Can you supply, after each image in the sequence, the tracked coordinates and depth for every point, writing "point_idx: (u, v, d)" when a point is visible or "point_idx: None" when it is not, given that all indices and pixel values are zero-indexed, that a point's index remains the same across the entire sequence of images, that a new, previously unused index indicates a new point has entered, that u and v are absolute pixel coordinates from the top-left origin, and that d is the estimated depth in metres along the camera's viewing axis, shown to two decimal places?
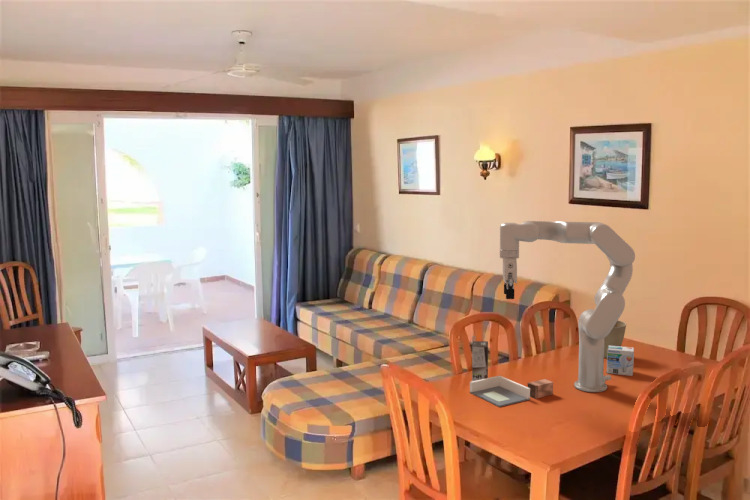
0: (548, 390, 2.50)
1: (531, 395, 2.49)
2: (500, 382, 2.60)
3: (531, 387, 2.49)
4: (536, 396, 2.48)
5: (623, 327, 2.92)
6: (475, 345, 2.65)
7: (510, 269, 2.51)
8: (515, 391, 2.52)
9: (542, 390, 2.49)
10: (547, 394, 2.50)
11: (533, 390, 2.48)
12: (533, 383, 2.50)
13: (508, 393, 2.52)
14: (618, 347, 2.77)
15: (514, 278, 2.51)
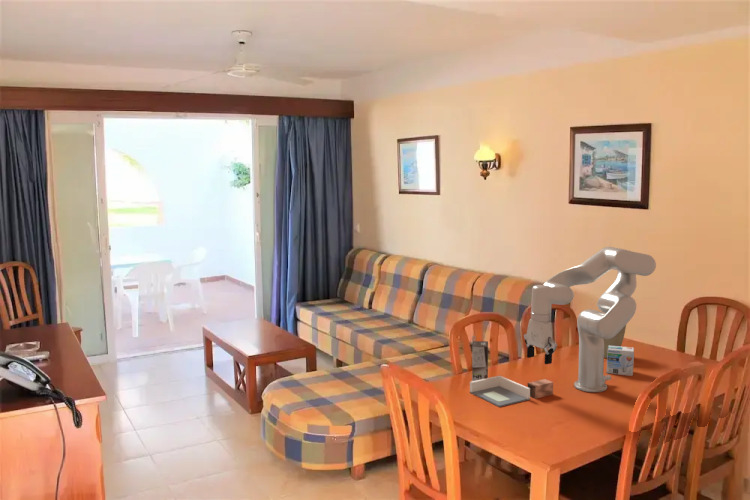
0: (548, 390, 2.50)
1: (531, 395, 2.49)
2: (500, 382, 2.60)
3: (531, 387, 2.49)
4: (536, 396, 2.48)
5: (623, 327, 2.92)
6: (475, 345, 2.65)
7: None
8: (515, 391, 2.52)
9: (542, 390, 2.49)
10: (547, 394, 2.50)
11: (533, 390, 2.48)
12: (533, 383, 2.50)
13: (508, 393, 2.52)
14: (618, 347, 2.77)
15: None
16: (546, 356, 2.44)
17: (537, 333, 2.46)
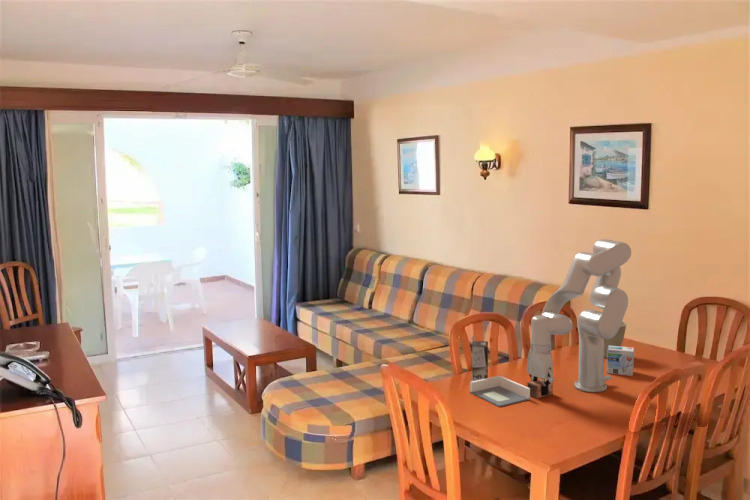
0: (548, 390, 2.50)
1: (531, 395, 2.49)
2: (500, 382, 2.60)
3: (531, 387, 2.49)
4: (536, 396, 2.48)
5: (623, 327, 2.92)
6: (475, 345, 2.65)
7: None
8: (515, 391, 2.52)
9: None
10: None
11: (533, 390, 2.48)
12: (533, 383, 2.50)
13: (508, 393, 2.52)
14: (618, 347, 2.77)
15: None
16: (542, 388, 2.48)
17: (537, 364, 2.47)
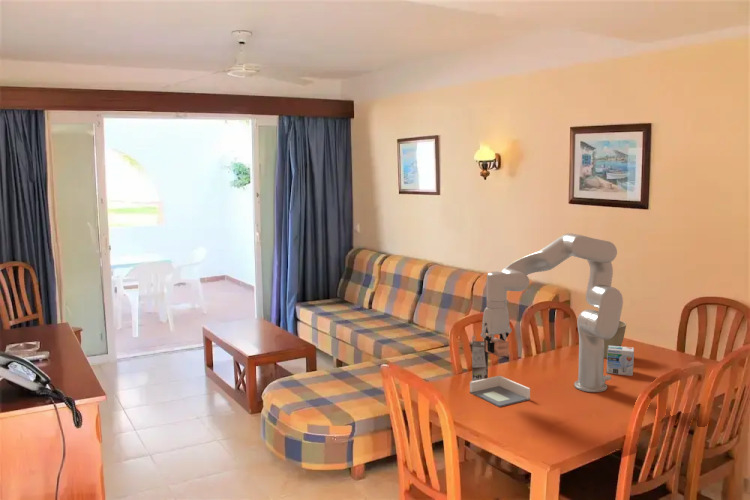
0: (495, 349, 2.43)
1: None
2: (500, 382, 2.60)
3: None
4: (485, 349, 2.49)
5: (623, 327, 2.92)
6: (475, 345, 2.65)
7: None
8: (515, 391, 2.52)
9: None
10: (494, 353, 2.44)
11: None
12: None
13: (508, 393, 2.52)
14: (618, 347, 2.77)
15: None
16: (488, 343, 2.46)
17: None
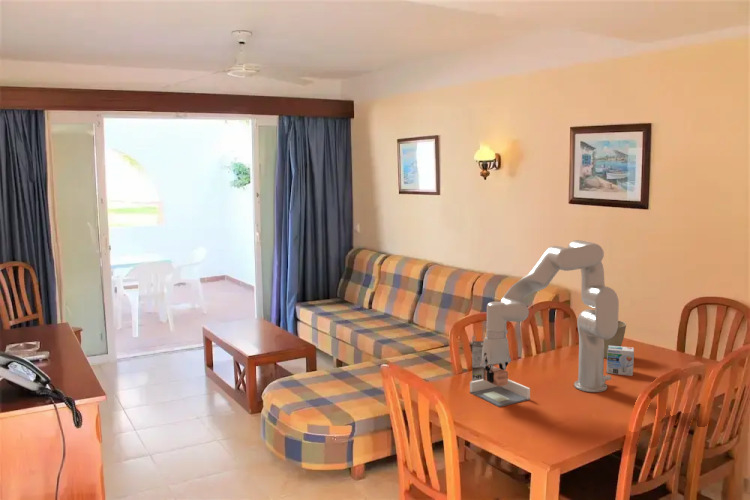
0: (494, 379, 2.45)
1: None
2: None
3: None
4: (484, 378, 2.50)
5: (623, 327, 2.92)
6: (475, 345, 2.65)
7: None
8: (515, 391, 2.52)
9: None
10: (493, 383, 2.46)
11: None
12: None
13: (508, 393, 2.52)
14: (618, 347, 2.77)
15: None
16: None
17: None
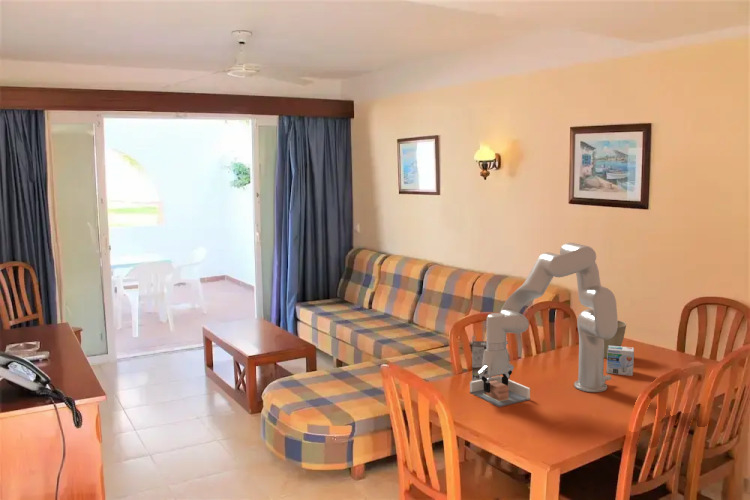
0: (495, 393, 2.46)
1: None
2: (500, 382, 2.60)
3: None
4: (485, 392, 2.51)
5: (623, 327, 2.92)
6: (475, 345, 2.65)
7: None
8: (515, 391, 2.52)
9: (490, 389, 2.48)
10: (494, 397, 2.46)
11: None
12: (492, 381, 2.51)
13: None
14: (618, 347, 2.77)
15: None
16: (484, 383, 2.47)
17: None
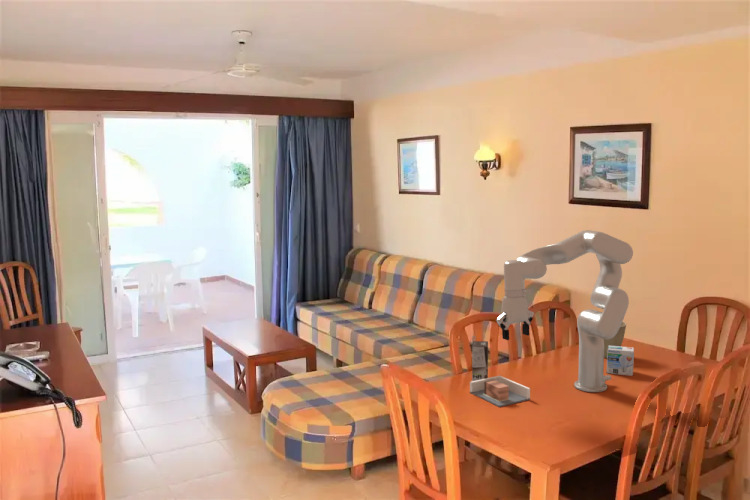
0: (495, 393, 2.46)
1: None
2: (500, 382, 2.60)
3: None
4: (485, 392, 2.51)
5: (623, 327, 2.92)
6: (475, 345, 2.65)
7: None
8: (515, 391, 2.52)
9: (490, 389, 2.48)
10: (494, 397, 2.46)
11: None
12: (492, 381, 2.51)
13: None
14: (618, 347, 2.77)
15: None
16: None
17: None
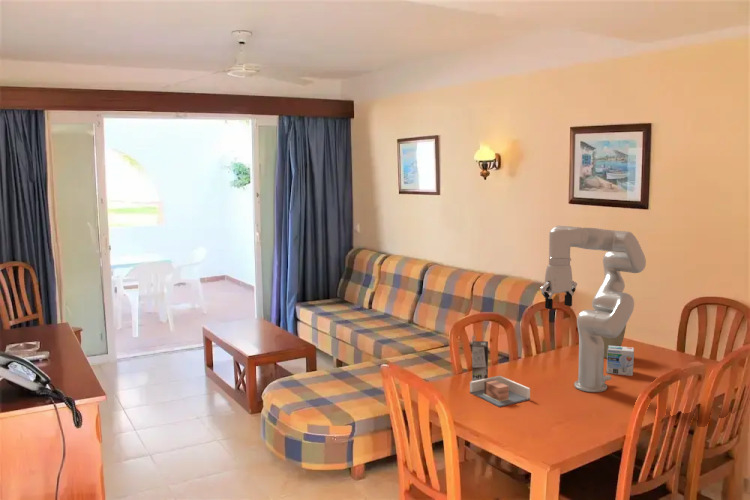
0: (495, 393, 2.46)
1: None
2: (500, 382, 2.60)
3: None
4: (485, 392, 2.51)
5: None
6: (475, 345, 2.65)
7: None
8: (515, 391, 2.52)
9: (490, 389, 2.48)
10: (494, 397, 2.46)
11: None
12: (492, 381, 2.51)
13: None
14: (618, 347, 2.77)
15: None
16: None
17: None
